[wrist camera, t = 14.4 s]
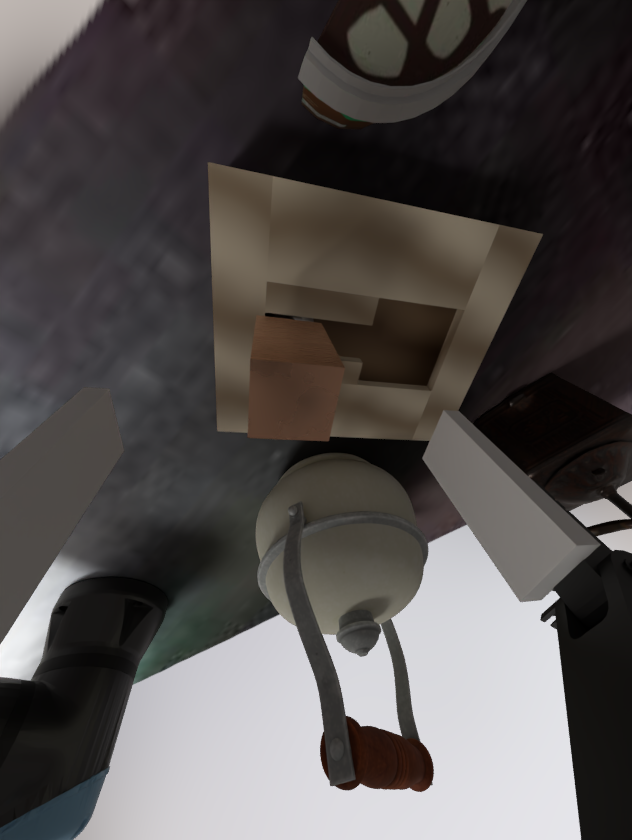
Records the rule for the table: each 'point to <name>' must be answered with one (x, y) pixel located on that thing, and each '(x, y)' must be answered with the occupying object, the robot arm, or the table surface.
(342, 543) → the kettle
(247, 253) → the keyhole plate
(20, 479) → the robot arm
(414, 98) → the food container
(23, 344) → the table surface
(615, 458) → the manual coffee grinder
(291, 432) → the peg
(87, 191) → the table surface
